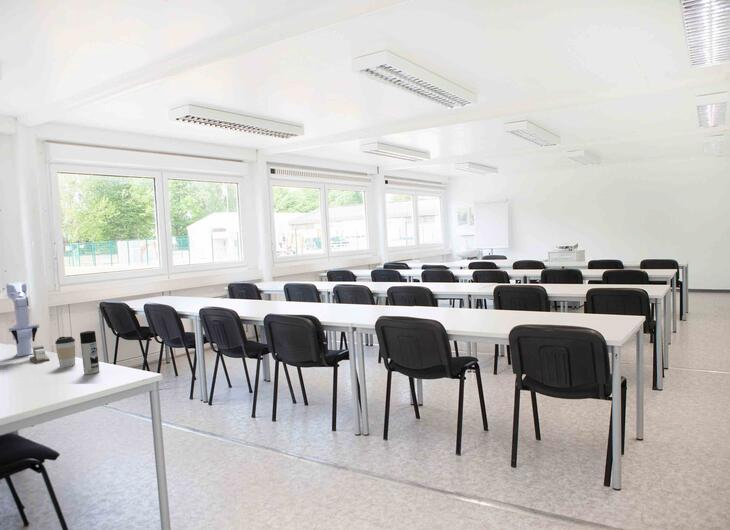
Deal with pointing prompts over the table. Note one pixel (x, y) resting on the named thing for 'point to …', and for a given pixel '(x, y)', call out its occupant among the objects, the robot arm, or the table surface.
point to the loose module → (37, 349)
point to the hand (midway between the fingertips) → (25, 342)
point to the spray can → (89, 352)
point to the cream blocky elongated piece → (39, 356)
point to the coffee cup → (66, 351)
